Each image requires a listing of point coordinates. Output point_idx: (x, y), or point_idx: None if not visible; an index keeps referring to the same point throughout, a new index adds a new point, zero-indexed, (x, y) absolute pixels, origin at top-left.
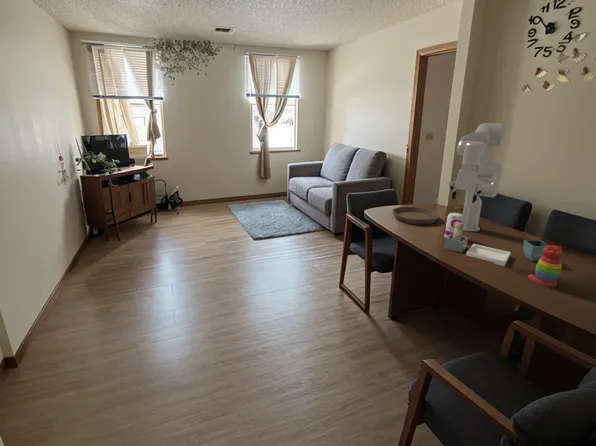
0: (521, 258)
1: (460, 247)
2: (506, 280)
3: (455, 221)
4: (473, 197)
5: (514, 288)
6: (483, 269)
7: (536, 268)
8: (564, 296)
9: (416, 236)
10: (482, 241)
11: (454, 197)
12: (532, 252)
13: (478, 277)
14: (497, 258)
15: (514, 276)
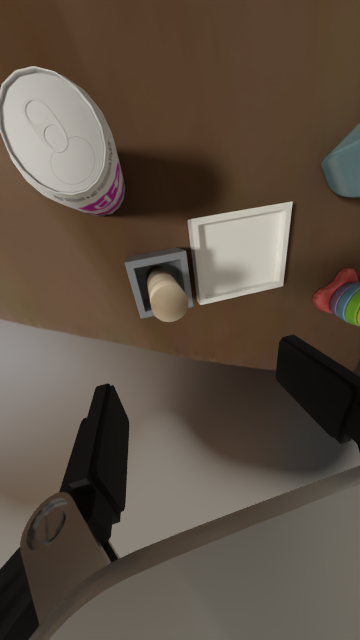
0: (308, 188)
1: None
2: (281, 338)
3: (99, 202)
4: (317, 419)
5: None
6: (243, 330)
7: (343, 315)
8: None
9: (7, 273)
10: (187, 100)
11: (125, 433)
12: (355, 196)
13: (243, 363)
14: (261, 261)
15: (292, 313)
